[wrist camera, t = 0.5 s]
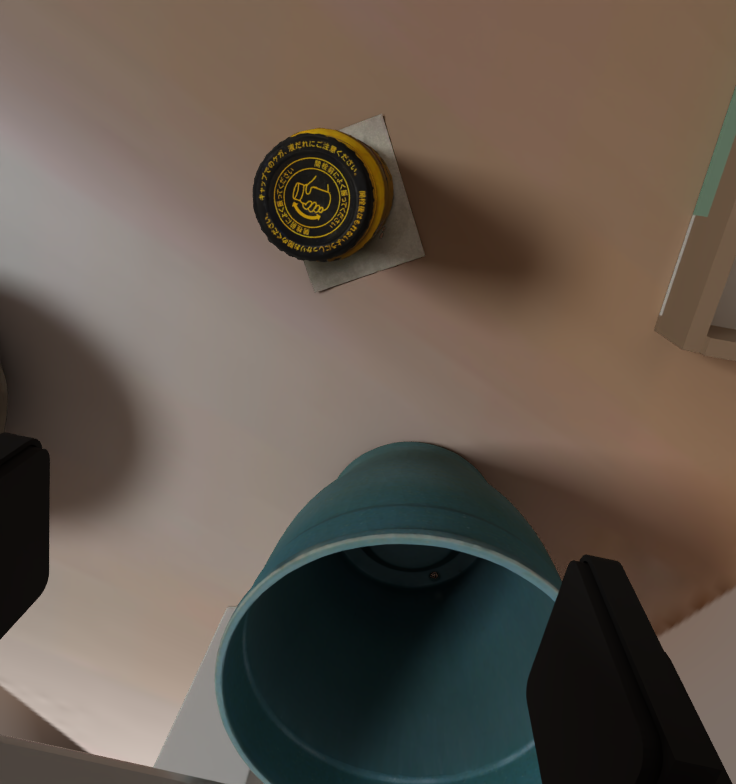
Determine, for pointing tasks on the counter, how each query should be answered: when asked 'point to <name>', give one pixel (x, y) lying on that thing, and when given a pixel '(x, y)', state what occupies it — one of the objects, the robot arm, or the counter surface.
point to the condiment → (337, 203)
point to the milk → (204, 729)
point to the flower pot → (391, 632)
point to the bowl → (3, 400)
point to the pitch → (708, 261)
